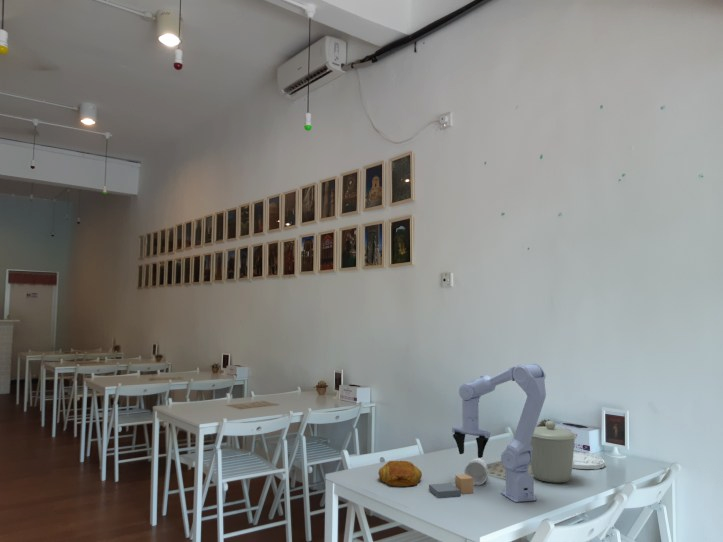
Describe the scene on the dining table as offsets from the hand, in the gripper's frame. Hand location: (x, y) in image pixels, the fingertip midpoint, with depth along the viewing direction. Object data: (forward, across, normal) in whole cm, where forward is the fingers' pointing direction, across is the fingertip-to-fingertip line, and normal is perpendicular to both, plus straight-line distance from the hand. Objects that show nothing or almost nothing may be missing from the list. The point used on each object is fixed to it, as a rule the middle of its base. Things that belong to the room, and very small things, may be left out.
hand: (470, 455), depth 195 cm
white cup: (+6, +2, -9) cm, 11 cm away
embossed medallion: (+10, -18, -55) cm, 59 cm away
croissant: (+10, +20, +16) cm, 27 cm away
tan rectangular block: (+10, -3, +10) cm, 14 cm away
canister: (+10, -19, -25) cm, 33 cm away
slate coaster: (+10, +1, +16) cm, 19 cm away
